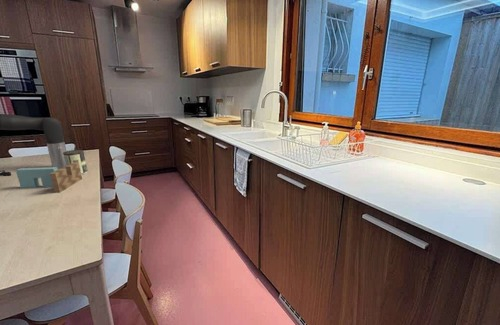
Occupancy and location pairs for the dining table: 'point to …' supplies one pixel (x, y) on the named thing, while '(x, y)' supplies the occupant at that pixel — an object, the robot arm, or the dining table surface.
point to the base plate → (66, 177)
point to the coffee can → (76, 159)
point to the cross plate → (35, 177)
